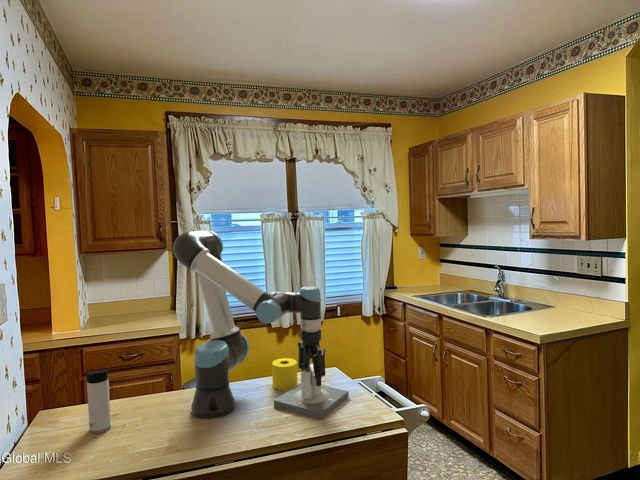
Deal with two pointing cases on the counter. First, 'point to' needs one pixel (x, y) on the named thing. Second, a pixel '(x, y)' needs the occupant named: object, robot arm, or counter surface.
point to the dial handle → (307, 382)
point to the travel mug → (98, 401)
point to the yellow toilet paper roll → (284, 373)
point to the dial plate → (312, 401)
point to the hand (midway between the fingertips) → (312, 390)
